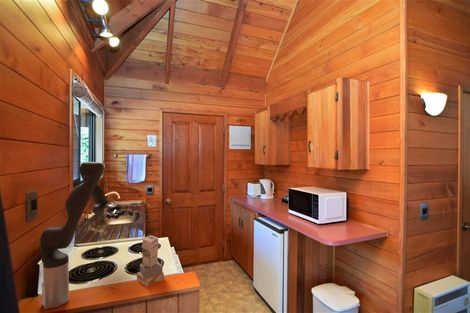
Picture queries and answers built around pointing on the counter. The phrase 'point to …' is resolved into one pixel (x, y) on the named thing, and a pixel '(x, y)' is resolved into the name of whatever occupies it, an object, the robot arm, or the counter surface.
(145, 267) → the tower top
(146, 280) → the tower base
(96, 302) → the counter surface
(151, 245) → the pinkish brown brick pillar
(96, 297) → the counter surface
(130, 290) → the counter surface
